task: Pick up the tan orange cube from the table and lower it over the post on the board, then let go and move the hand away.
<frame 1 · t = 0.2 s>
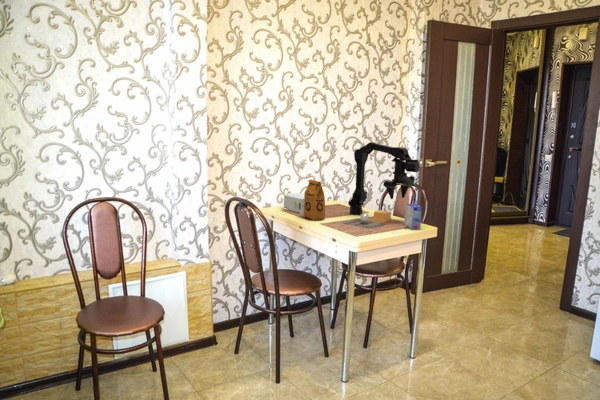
hand: (397, 198, 247), 14 cm above the table, tool pointing down, fingers open, 9 cm apart
tan orange cube: (381, 222, 250), on the table
supplement box: (300, 210, 279), on the table
coffee package: (314, 218, 255), on the table
board: (363, 225, 240), on the table
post: (364, 223, 240), resting on board
ink cartridge box: (412, 227, 240), on the table
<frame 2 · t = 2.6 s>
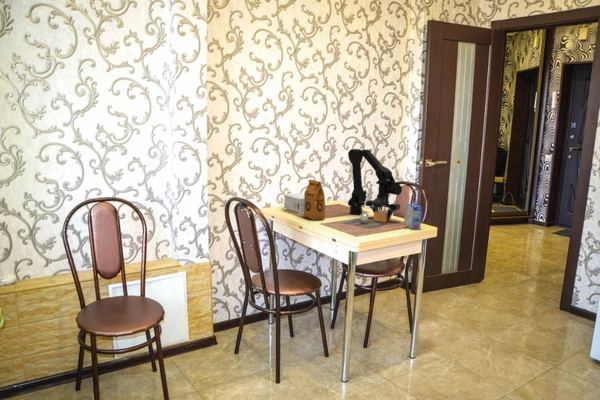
hand: (382, 220, 250), 1 cm above the table, tool pointing down, fingers closed on tan orange cube, 7 cm apart
tan orange cube: (381, 222, 250), on the table, touching gripper
everything else where it was.
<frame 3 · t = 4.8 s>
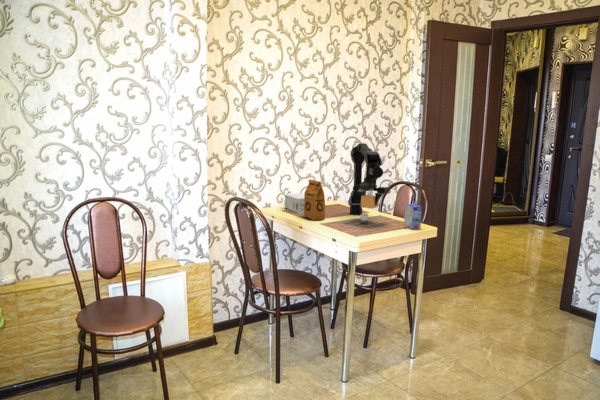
hand: (369, 204, 240), 11 cm above the table, tool pointing down, fingers closed on tan orange cube, 7 cm apart
tan orange cube: (369, 206, 241), point 10 cm above the table, touching gripper
everything else where it was.
when the fingers open (3 cm above the table, at t = 7.4 s): tan orange cube stays where it is, resting on board.
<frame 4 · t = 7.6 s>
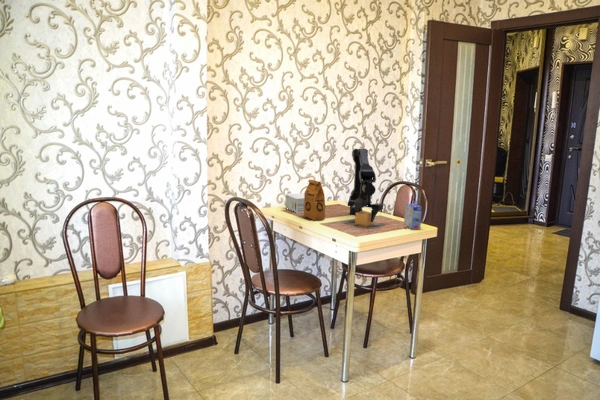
hand: (364, 220, 240), 3 cm above the table, tool pointing down, fingers open, 9 cm apart
tan orange cube: (364, 223, 240), point 1 cm above the table, touching board
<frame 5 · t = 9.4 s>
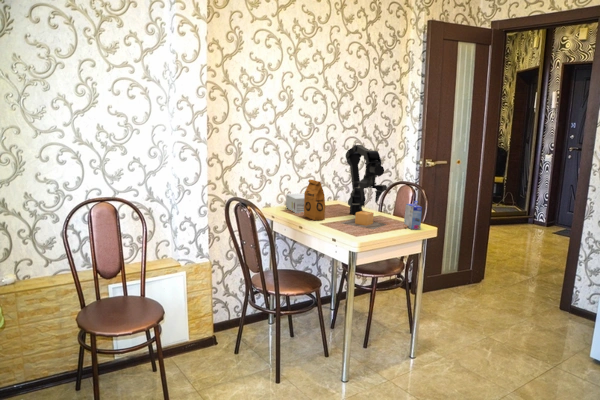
hand: (368, 201, 248), 12 cm above the table, tool pointing down, fingers open, 9 cm apart
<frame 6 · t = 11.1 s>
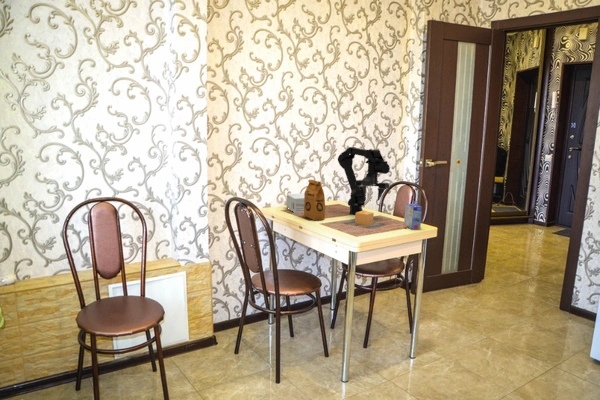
hand: (371, 199, 254), 12 cm above the table, tool pointing down, fingers open, 9 cm apart
at the end: tan orange cube 0.0 cm off-centre on the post, point 0.0 cm above the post's base; tan orange cube tilted 0°; the gripper is holding nothing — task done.
